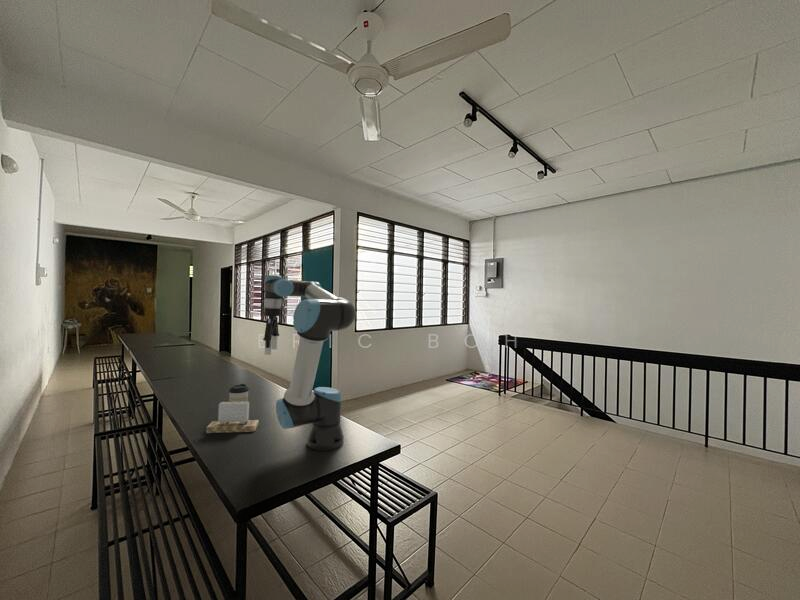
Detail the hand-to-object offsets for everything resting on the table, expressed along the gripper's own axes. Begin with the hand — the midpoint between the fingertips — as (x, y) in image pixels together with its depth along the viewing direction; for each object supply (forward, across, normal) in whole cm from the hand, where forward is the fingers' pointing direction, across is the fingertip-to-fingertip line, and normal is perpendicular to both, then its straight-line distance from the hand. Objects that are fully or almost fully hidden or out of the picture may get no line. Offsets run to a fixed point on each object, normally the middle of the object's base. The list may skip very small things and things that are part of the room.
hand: (271, 351), depth 153 cm
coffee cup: (+35, -12, -17) cm, 41 cm away
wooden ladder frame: (+35, +5, -14) cm, 38 cm away
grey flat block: (+35, +5, -14) cm, 38 cm away
